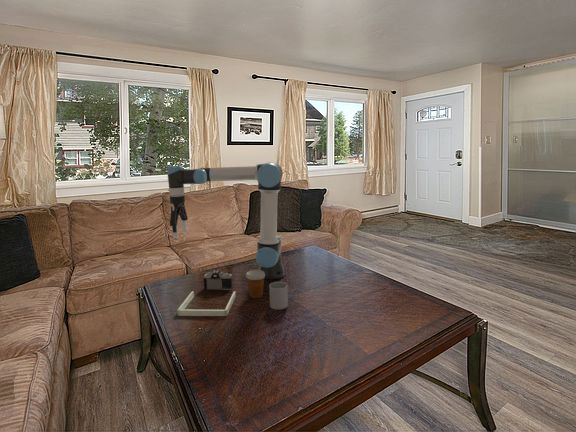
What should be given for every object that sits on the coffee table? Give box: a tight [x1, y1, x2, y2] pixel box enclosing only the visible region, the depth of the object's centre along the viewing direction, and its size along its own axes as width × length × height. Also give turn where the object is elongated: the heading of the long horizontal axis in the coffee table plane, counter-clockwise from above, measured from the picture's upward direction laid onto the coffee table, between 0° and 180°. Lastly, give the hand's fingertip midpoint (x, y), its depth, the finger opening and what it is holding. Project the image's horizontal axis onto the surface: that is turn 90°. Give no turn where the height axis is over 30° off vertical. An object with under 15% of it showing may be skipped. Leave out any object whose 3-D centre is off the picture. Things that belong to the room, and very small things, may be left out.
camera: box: [203, 269, 233, 291], centre depth 185 cm, size 16×9×10 cm, turn 84°
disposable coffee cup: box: [245, 269, 265, 299], centre depth 173 cm, size 10×10×12 cm
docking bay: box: [176, 290, 237, 317], centre depth 164 cm, size 22×21×2 cm
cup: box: [268, 281, 289, 310], centre depth 162 cm, size 8×8×10 cm
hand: (180, 235), depth 187 cm, fingers open, 13 cm apart
